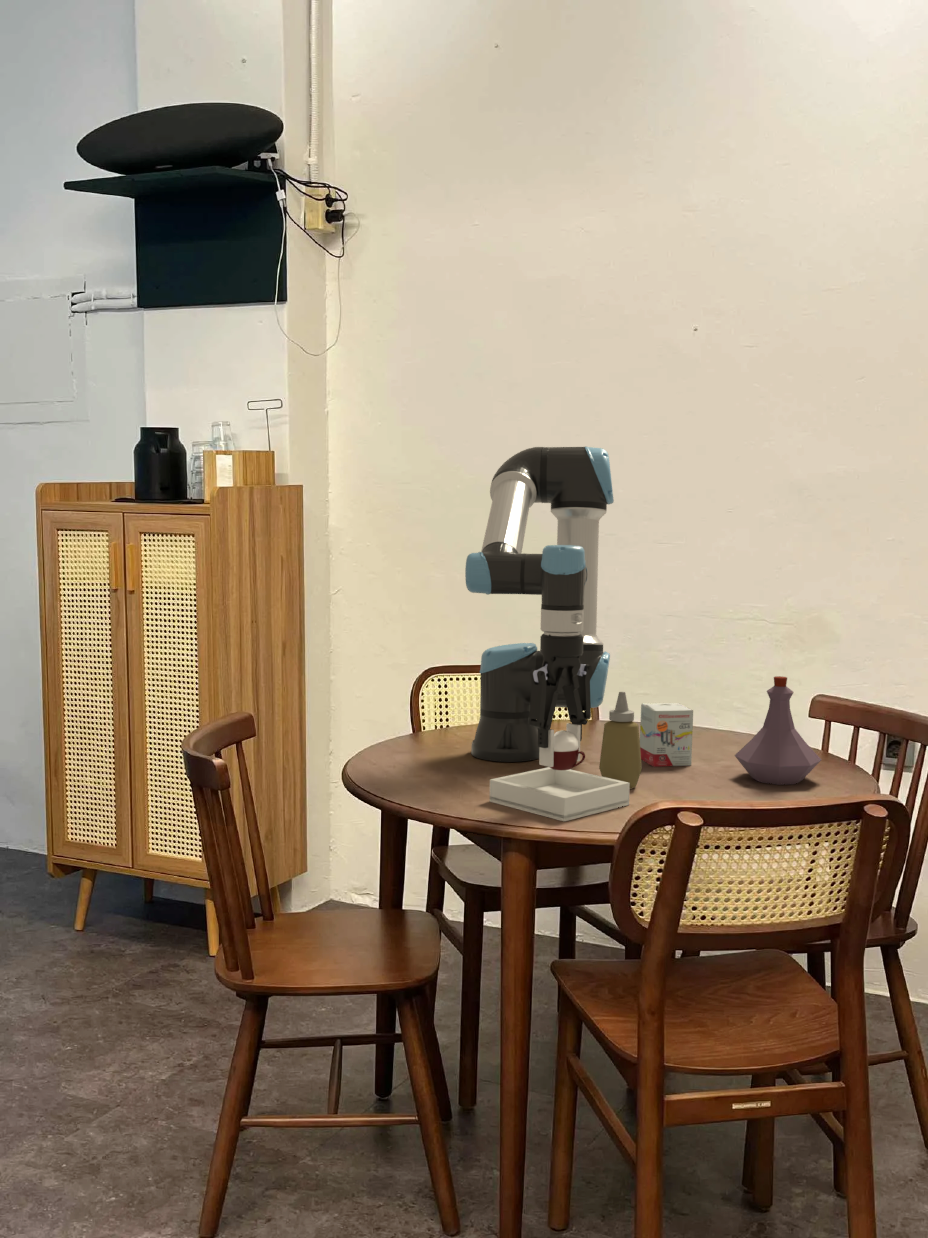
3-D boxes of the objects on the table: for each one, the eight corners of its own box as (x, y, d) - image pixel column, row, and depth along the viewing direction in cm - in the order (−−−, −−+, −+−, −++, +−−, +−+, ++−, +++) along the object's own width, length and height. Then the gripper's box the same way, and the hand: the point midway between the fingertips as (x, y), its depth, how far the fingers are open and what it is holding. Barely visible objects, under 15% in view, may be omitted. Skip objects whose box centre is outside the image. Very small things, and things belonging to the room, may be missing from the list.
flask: (715, 776, 245) (718, 675, 243) (774, 766, 254) (777, 669, 252) (779, 793, 231) (783, 686, 229) (839, 782, 240) (843, 679, 238)
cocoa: (589, 772, 220) (594, 705, 218) (562, 775, 216) (567, 707, 215) (553, 760, 227) (558, 695, 226) (527, 763, 223) (531, 697, 222)
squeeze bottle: (595, 782, 239) (596, 688, 237) (636, 781, 239) (639, 688, 238) (602, 792, 231) (604, 695, 229) (645, 791, 231) (648, 695, 229)
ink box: (652, 767, 252) (654, 709, 251) (638, 758, 260) (639, 702, 259) (692, 765, 254) (694, 708, 253) (677, 757, 262) (678, 701, 261)
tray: (554, 786, 234) (554, 765, 234) (629, 805, 221) (629, 782, 221) (489, 801, 223) (489, 779, 222) (564, 821, 210) (564, 798, 209)
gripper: (539, 639, 210) (537, 774, 212) (614, 631, 223) (611, 759, 225) (508, 635, 215) (506, 767, 217) (582, 628, 228) (580, 752, 230)
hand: (559, 762), depth 221 cm, fingers closed on cocoa, 6 cm apart
